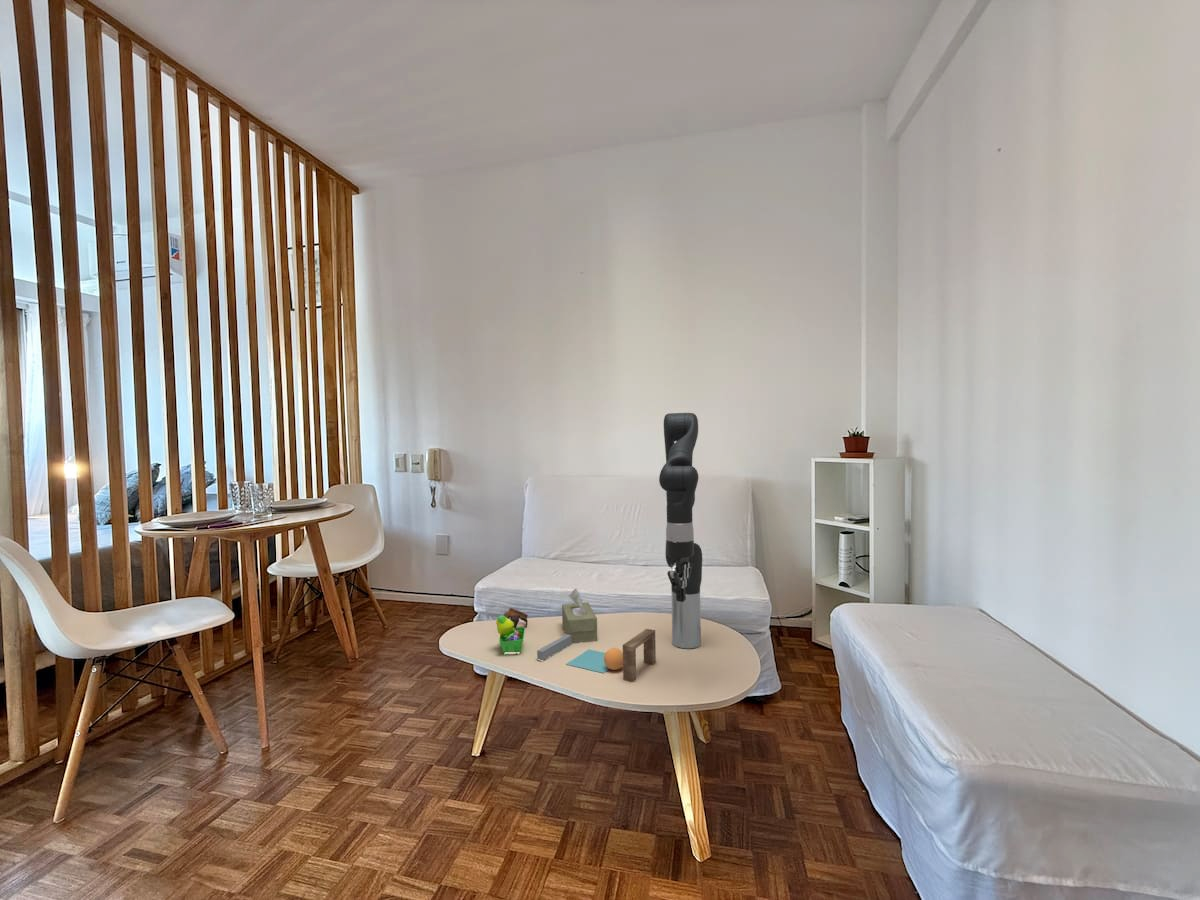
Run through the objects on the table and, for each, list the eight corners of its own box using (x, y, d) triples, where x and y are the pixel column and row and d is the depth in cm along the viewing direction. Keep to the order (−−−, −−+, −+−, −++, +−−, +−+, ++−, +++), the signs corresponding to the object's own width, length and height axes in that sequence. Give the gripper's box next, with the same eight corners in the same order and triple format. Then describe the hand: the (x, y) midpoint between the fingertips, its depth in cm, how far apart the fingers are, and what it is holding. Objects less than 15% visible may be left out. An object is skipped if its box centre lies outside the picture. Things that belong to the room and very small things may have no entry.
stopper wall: (566, 643, 178) (566, 634, 178) (571, 644, 177) (571, 635, 177) (537, 660, 164) (537, 650, 164) (542, 661, 163) (542, 651, 163)
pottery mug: (496, 627, 196) (506, 605, 199) (520, 637, 197) (529, 615, 200) (498, 629, 185) (508, 606, 188) (523, 640, 186) (533, 617, 189)
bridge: (623, 679, 149) (622, 645, 149) (646, 660, 162) (646, 628, 162) (632, 682, 148) (632, 647, 148) (655, 662, 161) (655, 630, 161)
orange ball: (623, 667, 159) (606, 655, 161) (630, 651, 157) (613, 640, 159) (614, 678, 154) (597, 665, 156) (621, 662, 152) (604, 650, 154)
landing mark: (588, 649, 172) (588, 649, 172) (624, 657, 165) (624, 656, 165) (565, 664, 160) (565, 664, 160) (603, 673, 154) (603, 672, 154)
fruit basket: (523, 655, 168) (523, 619, 168) (495, 657, 167) (494, 621, 167) (525, 642, 179) (524, 608, 179) (498, 644, 178) (497, 610, 178)
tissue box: (562, 625, 196) (561, 582, 195) (588, 623, 197) (588, 580, 197) (568, 644, 177) (567, 596, 177) (597, 642, 179) (596, 594, 179)
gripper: (676, 533, 156) (677, 593, 156) (657, 541, 144) (658, 605, 144) (701, 535, 152) (702, 596, 152) (683, 543, 140) (684, 609, 141)
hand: (680, 600), depth 148 cm, fingers closed
